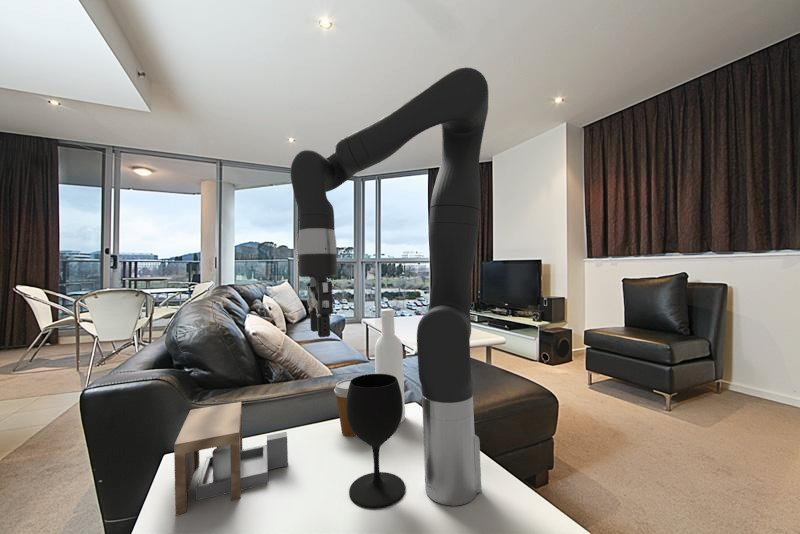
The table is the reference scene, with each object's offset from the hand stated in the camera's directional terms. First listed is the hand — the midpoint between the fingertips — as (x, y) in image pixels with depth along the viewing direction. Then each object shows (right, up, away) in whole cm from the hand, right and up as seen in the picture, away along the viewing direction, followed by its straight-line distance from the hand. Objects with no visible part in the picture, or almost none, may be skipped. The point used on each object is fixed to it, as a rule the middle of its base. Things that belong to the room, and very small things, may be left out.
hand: (319, 333), depth 69 cm
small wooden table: (-21, -29, -1) cm, 35 cm away
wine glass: (+12, -28, -6) cm, 31 cm away
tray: (-15, -29, +1) cm, 33 cm away
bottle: (+14, -29, +25) cm, 41 cm away
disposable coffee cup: (+4, -29, +19) cm, 35 cm away
